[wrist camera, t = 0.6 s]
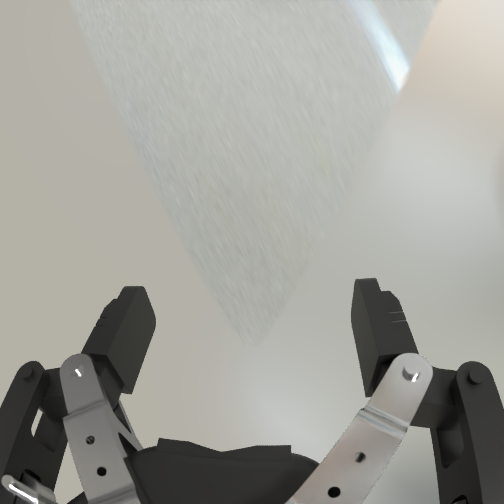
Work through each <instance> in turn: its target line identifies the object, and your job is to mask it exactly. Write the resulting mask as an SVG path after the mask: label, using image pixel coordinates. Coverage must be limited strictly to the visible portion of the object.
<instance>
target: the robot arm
mask: <svg viewBox="0 0 504 504" xmlns="http://www.w3.org/2000/svg"><path fill="white" fill-rule="evenodd" d="M351 323H352V329H353V334H354V338H355V343H356V348H357V353H358V358H359V363H360V369H361V373H362V379H363V385H364V390H365V396H366V397H371V398H370V400H369V402H368V403H367V405H366V406H365V407H364V408H363V409H361V410H360V411H359V412H358V413H357V415H356V416H355V417H354V419H353V420H352V422H351V423H350V425H349V426H348V428H347V429H346V430H345V432H344V433H343V434H342V436H341V437H340V439H339V440H338V441H337V443H336V444H335V445H334V446H333V448H332V449H331V450H330V452H329V453H328V454H327V456H326V457H325V458H324V459H323V461H322V462H321V463H320V464H319V463H318V462H316V461H314V460H312V459H310V458H308V457H305V456H302V455H298V454H294V453H291V445H284V446H283V445H280V446H258V445H257V446H252V447H247V448H242V449H236V450H231V451H225V452H220V451H216V450H213V449H210V448H206V447H203V446H200V445H197V444H194V443H192V442H188V441H179V440H170V439H163V438H159V440H158V444H157V446H153V447H149V448H145V449H143V447H142V446H141V444H140V443H139V441H138V439H137V438H136V436H135V433H134V431H133V429H132V427H131V425H130V422H129V420H128V418H127V415H126V413H125V411H124V408H123V406H122V403H121V401H120V400H119V397H120V395H121V393H126V394H132V392H133V389H134V386H135V383H136V380H137V378H138V375H139V372H140V369H141V366H142V363H143V361H144V358H145V355H146V352H147V349H148V347H149V344H150V341H151V339H152V336H153V333H154V330H155V326H156V318H155V314H154V311H153V308H152V306H151V303H150V301H149V298H148V295H147V292H146V290H145V288H144V287H143V286H125V287H124V288H123V289H122V291H121V293H120V295H119V296H118V298H117V299H113V300H112V301H111V302H110V303H109V304H108V305H107V306H106V307H105V308H104V310H103V312H102V314H101V316H100V319H98V321H97V323H96V326H95V327H94V329H93V330H92V332H91V334H90V336H89V338H88V340H87V342H86V344H85V346H84V348H83V350H82V352H81V354H75V355H72V356H70V357H69V358H67V359H66V360H65V361H64V362H63V364H62V366H61V368H55V369H48V370H45V369H44V368H43V366H42V365H41V364H40V363H39V362H37V361H30V362H28V363H26V364H24V365H23V366H22V367H21V368H20V369H19V370H18V372H17V374H16V376H15V378H14V380H13V382H12V384H11V386H10V388H9V390H8V392H7V394H6V397H5V399H4V401H3V403H2V405H1V408H0V504H58V503H57V502H56V498H55V495H54V493H53V492H54V488H55V484H56V481H57V477H58V473H59V469H60V466H61V463H62V459H63V456H64V452H65V449H66V446H67V442H69V446H70V449H71V453H72V456H73V459H74V462H75V465H76V469H77V472H78V475H79V478H80V481H81V484H82V487H83V489H84V491H83V492H82V493H81V494H79V495H78V496H77V497H75V498H74V499H73V500H71V501H70V502H68V503H67V504H362V503H363V501H364V500H365V499H366V497H367V496H368V494H369V493H370V491H371V490H372V488H373V487H374V486H375V484H376V482H377V481H378V479H379V478H380V476H381V475H382V473H383V472H384V470H385V468H386V467H387V465H388V463H389V462H390V460H391V459H392V457H393V455H394V454H395V452H396V450H397V449H398V447H399V445H400V443H401V442H402V440H403V438H404V436H405V434H406V432H407V428H408V427H409V425H410V426H418V427H425V428H430V432H431V437H432V444H433V450H434V457H435V464H436V472H437V480H438V488H439V499H440V504H504V409H503V405H502V402H501V399H500V396H499V393H498V390H497V387H496V385H495V382H494V379H493V376H492V374H491V372H490V370H489V369H488V368H487V367H486V366H484V365H483V364H482V363H479V362H475V361H469V362H466V363H464V364H462V365H461V366H460V367H459V369H458V370H457V371H454V370H446V369H439V368H435V367H433V366H431V364H430V362H429V361H428V360H427V359H426V358H424V357H423V356H421V355H419V353H418V350H417V347H416V345H415V342H414V339H413V336H412V333H411V331H410V328H409V325H408V323H407V321H406V317H405V315H404V313H403V310H402V307H401V305H400V302H399V300H398V299H397V298H396V297H395V296H394V295H393V294H392V293H391V292H390V291H381V290H380V287H379V284H378V282H377V279H376V278H366V279H356V280H355V284H354V293H353V300H352V308H351ZM38 409H40V410H41V411H42V412H43V414H42V416H41V419H40V421H39V424H38V427H37V429H36V432H35V435H34V437H33V435H32V432H31V427H32V424H33V421H34V419H35V416H36V414H37V411H38Z"/></svg>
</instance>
